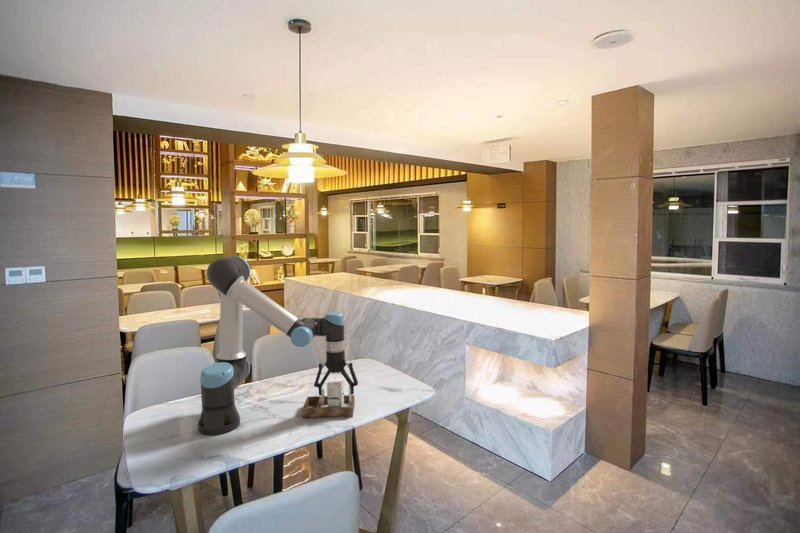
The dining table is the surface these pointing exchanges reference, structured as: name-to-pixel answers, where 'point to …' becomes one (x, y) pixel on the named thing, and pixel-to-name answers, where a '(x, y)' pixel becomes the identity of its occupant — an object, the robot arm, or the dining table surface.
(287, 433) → the dining table surface
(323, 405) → the organiser
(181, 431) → the dining table surface
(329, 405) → the ink box
